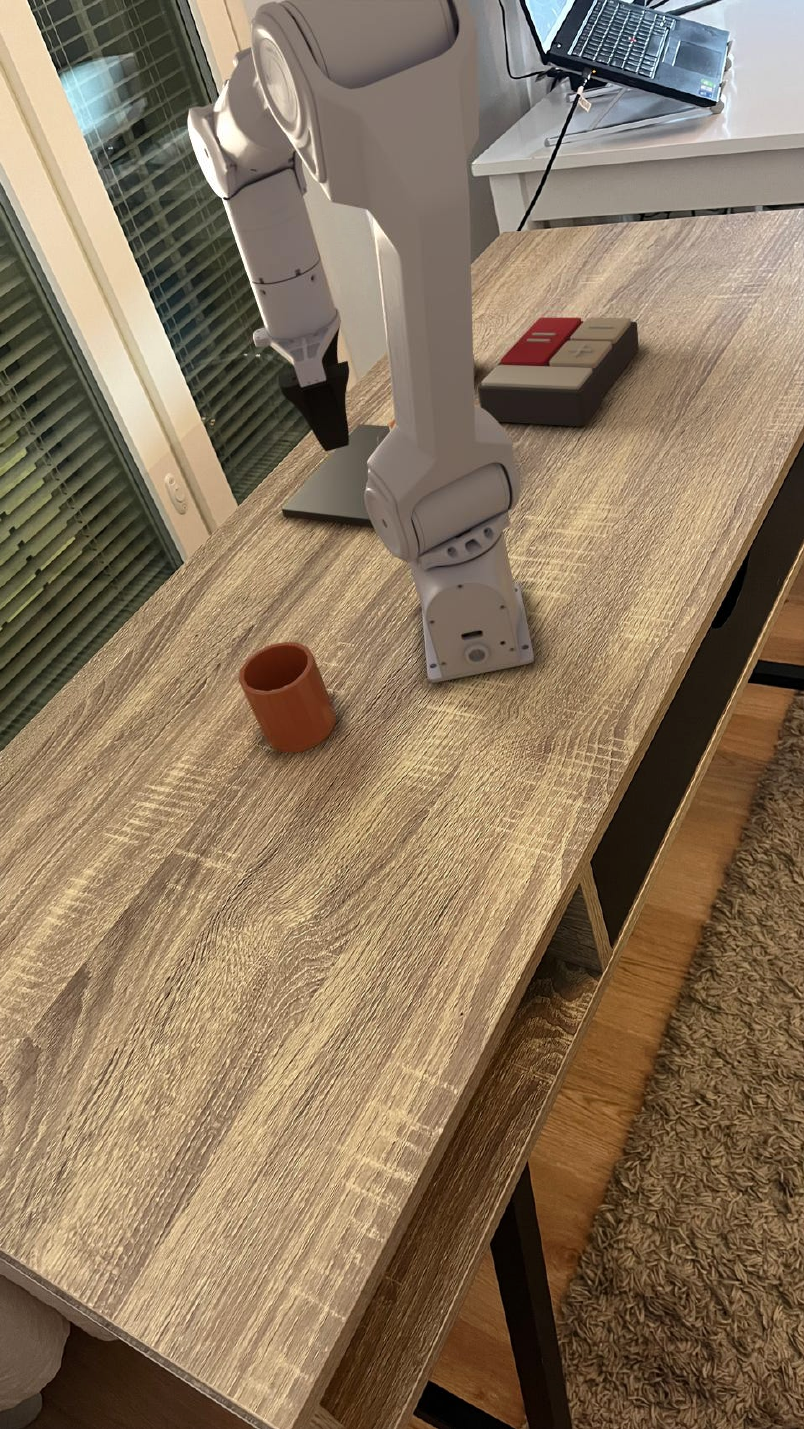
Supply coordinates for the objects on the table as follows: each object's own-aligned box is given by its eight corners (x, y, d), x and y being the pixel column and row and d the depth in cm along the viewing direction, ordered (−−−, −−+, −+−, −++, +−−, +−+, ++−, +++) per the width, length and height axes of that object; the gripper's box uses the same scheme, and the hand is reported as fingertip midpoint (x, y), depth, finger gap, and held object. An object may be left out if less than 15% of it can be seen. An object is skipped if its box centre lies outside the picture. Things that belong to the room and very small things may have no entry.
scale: (388, 529, 96) (381, 506, 95) (283, 517, 102) (275, 495, 100) (461, 438, 105) (456, 415, 103) (360, 431, 110) (354, 410, 109)
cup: (335, 745, 78) (312, 685, 74) (263, 759, 79) (236, 701, 75) (336, 694, 82) (313, 635, 78) (267, 708, 83) (241, 650, 79)
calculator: (638, 313, 107) (580, 384, 98) (640, 354, 109) (585, 427, 100) (536, 313, 112) (473, 380, 103) (541, 352, 115) (480, 421, 106)
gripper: (234, 249, 88) (285, 398, 97) (234, 319, 77) (291, 480, 86) (317, 224, 87) (360, 377, 96) (329, 292, 76) (376, 456, 86)
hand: (333, 424), depth 91 cm, fingers open, 7 cm apart
